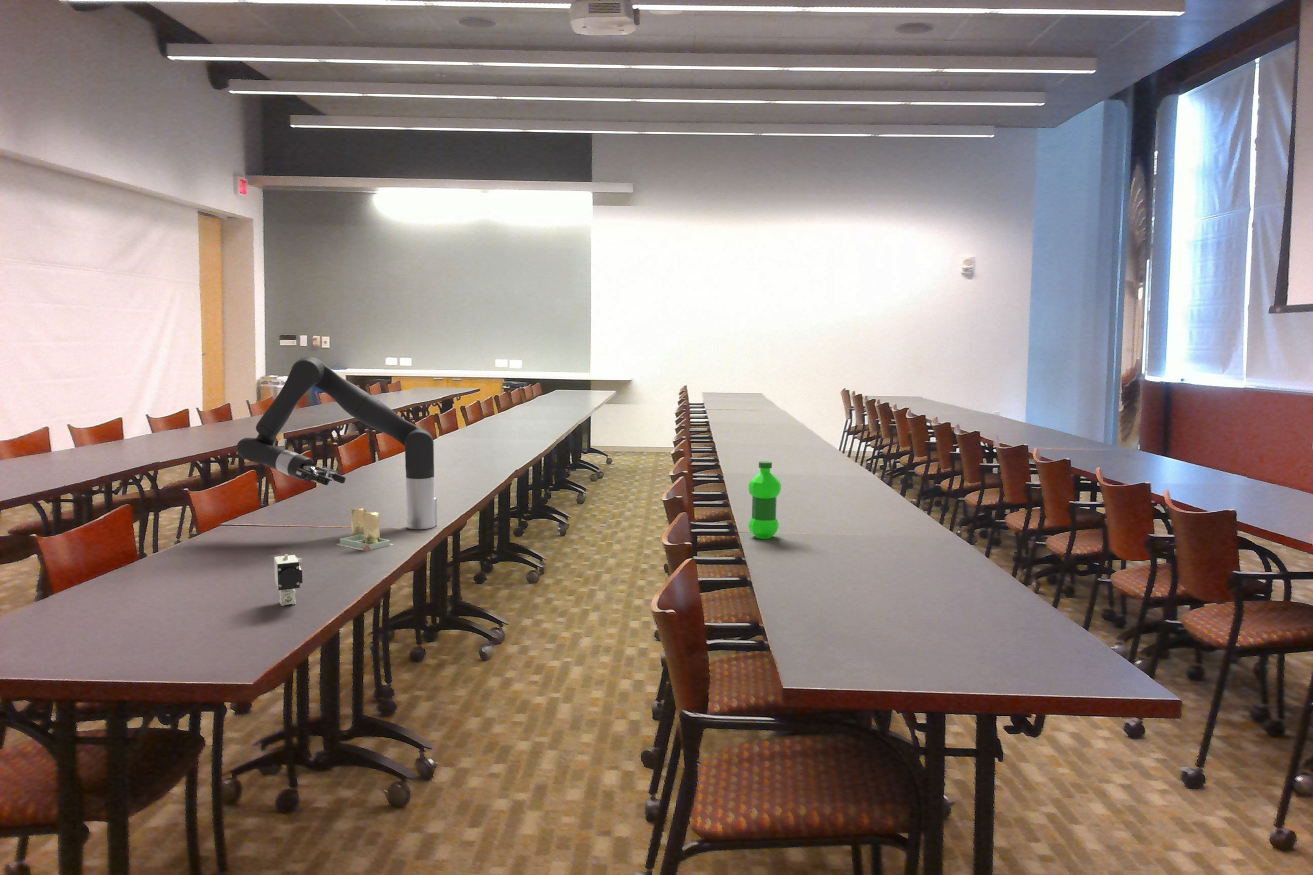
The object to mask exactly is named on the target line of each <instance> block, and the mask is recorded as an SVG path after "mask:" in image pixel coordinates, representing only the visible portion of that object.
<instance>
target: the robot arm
mask: <svg viewBox="0 0 1313 875" xmlns="http://www.w3.org/2000/svg"><path fill="white" fill-rule="evenodd" d="M312 387H315V388H316V389H318V390H320V391H322V392H323V393H326V394H327V395H328V396H330V397H331V398H332V399H333V400H334V401H335V402H336V403H337V404H338V405H339V406H340V407H341V409H343V411H345V412H346V413H347V414H348V415H349V416H351V417H353V419H356V420H358V422H360V423H362V424H364V425H365V426H368V427H369V428H372V429H374V430H376V431H378V432H381V433H383V434H386V435H388V437H389V436H390V437H392V438H393V439H394V440H396V442H398V443H400V444H401V445H402V446H403V447H404V460H405V462H404V463H405V467H404V468H405V487H406V488H405V489H406V490H405V494H406V495H405V496H406V528H407V529H411V530H426V529H427V530H429V529H432V528H435V526H438V503H437V501H438V499H437V497H435V462H434V461H435V457H434V456H435V453H434V451H435V449H434V448H435V444H434V438H433V435H432V434H431V433H430V432H429V431H427V430H426V429H424V428H421V427H419V426H417V425H415V424H414V423H412V422H409V421H408V420H406V419H405V418H403V417H402V416H401V415H400V414H398V413H397V412H395V411H394V410H393V409H391V408H390V407H388V406H387V405H386V404H384V403H383V402H382V401H380V400H379V399H378V398H376V397H375V396H373V395H372V394H370V393H369V392H367V391H365V390H364V389H362V388H360V387H358V386H357V385H355V384H353V383H352V382H350V381H349V380H346V379H345V378H343V377H342V376H340V375H339V374H337V372H335V371H334V370H332V369H331V368H330V367H329V366H327V365H326V364H325V363H324V362H323V361H322V360H320V359H318V358H317V357H314V356H304V357H302V358H300V359H298V360H297V361H295V362H294V363H293V364H292V367H291V370H290V371H289V374H288V376H287V378H286V380H285V382H284V385H283V386H282V388H281V390H280V392H279V393H278V395H277V396H276V397H275V398H274V400H273V402H272V403H271V404H270V405H269V406H268V408H267V409H266V411H264V413H263V415H262V416H261V417H260V419H259V421H258V422H257V424H256V426H255V431H256V432H257V433H258V435H257V436H256V437H244V438H242V439H240V440H239V441H238V442H237V444H236V447H235V448H236V452H237V455H239V457H241V458H242V459H244V460H246V461H249V462H254V463H257V464H262V465H264V466H267V467H268V468H272V469H274V470H277V471H279V472H281V473H283V474H284V475H287V476H289V477H292V478H295V479H297V480H299V481H307V482H309V483H311V482H314V483H319V484H321V485H324V486H328V485H329V482H330V481H331V480H332V481H334V482H337V483H340V484H345V483H346V476H343V475H342V474H339V473H340V472H339V471H338V470H335V469H332V468H329V467H327V466H320V465H315V463H314V461H313V459H312V458H311V457H307V456H305V455H302V454H299V453H298V452H295V451H291V450H288V449H285V448H282V447H279V446H277V445H274V444H275V442H276V439H277V436H278V434H279V433H280V431H282V429H283V427H284V426H285V425H286V423H287V422H288V420H289V418H290V416H292V413H293V411H294V409H295V408H296V406H297V404H298V403H299V401H300V400H301V399H302V397H304V395H305V394H306V393H307V392H308V391H309V390H310V389H311V388H312Z"/></svg>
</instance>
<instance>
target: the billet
mask: <svg viewBox="0 0 1313 875" xmlns="http://www.w3.org/2000/svg"><path fill="white" fill-rule="evenodd" d="M366 512H367V508H366V507H353V508H351V510H350V518H351V536H355V535H359V534H361V535H364V521H363V513H366Z"/></svg>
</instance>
